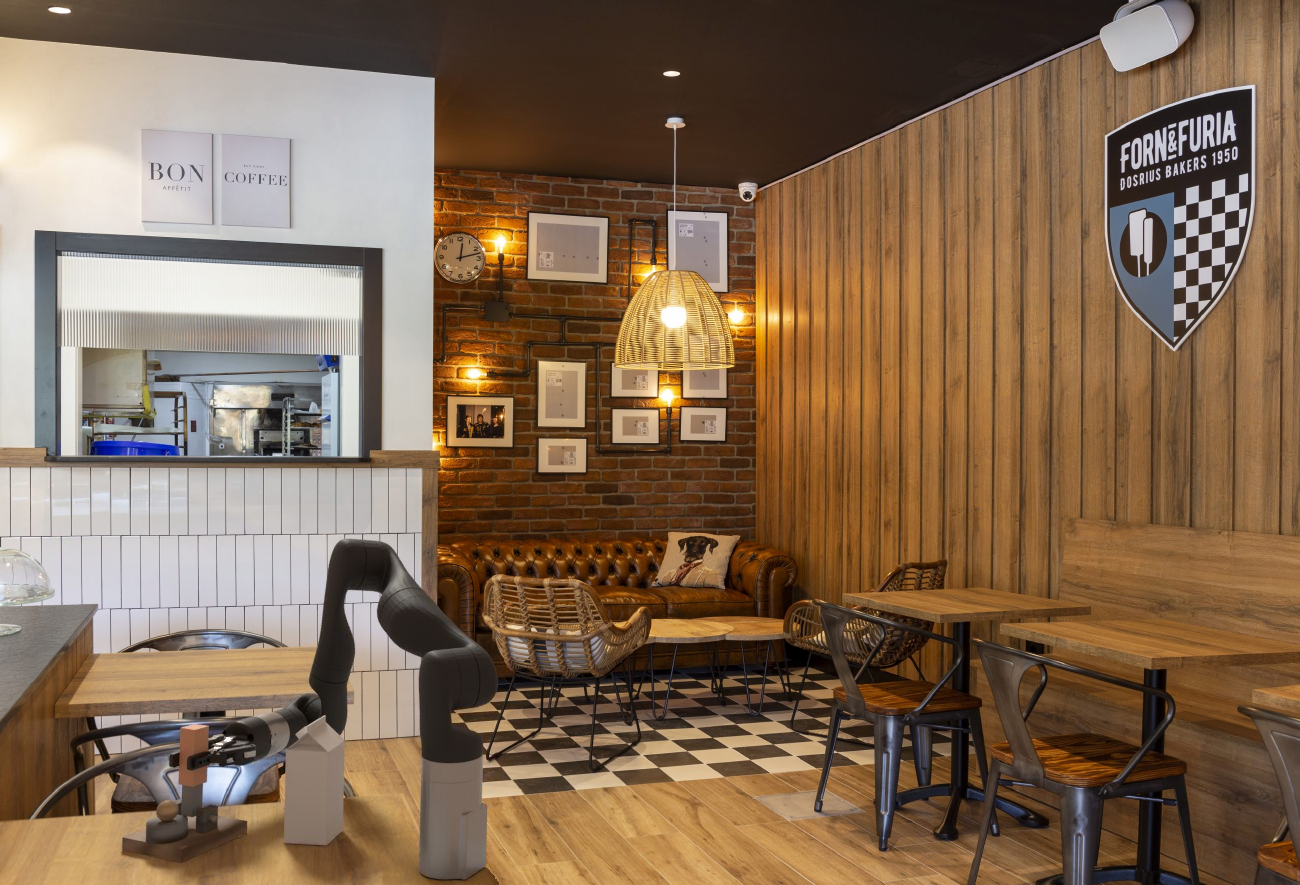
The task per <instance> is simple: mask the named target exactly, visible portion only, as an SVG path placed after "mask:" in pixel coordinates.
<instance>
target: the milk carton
mask: <svg viewBox="0 0 1300 885" xmlns="http://www.w3.org/2000/svg"><path fill="white" fill-rule="evenodd" d="M296 736H297V737H298V739H299V740H298V741H296V742H295V743H294V744H293V745H291V746H290V747H289V748H288V749H285V770H284V771H285V775H284V776H285V777H284V778H285V779H284V781H285V782H284V814H283V815H284V816H283V817H284V818H283V819H284V820H283V822H284V823H283V824H284V825H283V844H297V845H310V846H311V845H312V846H314V845H315V846H328V845H329V844H330V843H331V842H332V841H333V840H334V839H335V838H337V837H338V836H339V835H340V834H341V833H342V832H343V831H344V796H345V795H344V793H345V788H344V787H345V757H346V755H345V752H346V751H345V749H346V740H345V738H343V737H342V735H339V734H338V733H337V732H336V731H334V730H333V729H332V728H331V727H330V726H329V725H328V724H327V723H326V715H324V716H323V717H321V718H319V719H318V720H316V721H314V722H313V723H311V724H309V725H308V726H306V727H304V728H303V729H301V730H300V731H299V732H297V733H296Z"/></svg>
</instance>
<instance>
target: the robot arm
mask: <svg viewBox="0 0 1300 885" xmlns="http://www.w3.org/2000/svg"><path fill="white" fill-rule="evenodd" d="M348 591H362V592H365V591H366V592H375V593H379V594H381V596H380V598H379V600H378V603H377V608H376V617H377V621H378V624H379V625H380V627H381V629H382V630H383V631H384V632H385V633H386V635H387V636H388V638H389V639H390V640H391V641H392V642H393V644H394V645H396V646H397V647H398V648H399V649H401V650H403V651H405V652H407V653H409V654H411V655H413V656H417V657H418V658H421V661H420V665H419V670H418V704H419V705H418V706H419V735H420V736H419V737H420V744H421V756H420V757H421V759H420V760H421V761H420V763H421V765H420V797H419V798H420V803H419V804H420V806H419V843H418V844H419V847H418V848H419V850H418V851H419V853H418V871H419V873H420V874H421V875H422V876H425V877H428V878H430V879H436V880H459V879H460V880H467V879H469V878H470V877H472V876H473V875H475V874H476V873H477V872H479V871H481V870H482V869H484V868H485V867H486V866H487V847H488V846H487V844H488V843H487V842H488V841H487V840H488V833H487V832H488V804H487V803H485V802H483V776H484V775H483V772H484V769H483V768H484V766H483V765H484V738H483V736H482V735H481V734H480V733H479V732H478V731H475V730H472V729H469V728H464V727H459V726H456V725H455V724H453V721H452V711H461V710H462V711H463V710H469V709H475V708H479V707H482V706H485V705H487V704H489V703H490V702H491V701H492V700H494V697H496V694H497V691H498V688H499V678H498V673H497V668H496V665H495V663H494V661H493V659H492V657H491V656H490V654H489V653H488V652H487V651H486V650H485V648H483V647H482V646H481V645H480V644H479V643H478V642H476V641H475V640H474V639H473V638H471V637H470V636H469V635H467V634H466V633H465V632H464V631H463V630H461V629H460V628H459V627H458V626H457V625H456V624H455V623H454V622H453V621H452V620H451V619H450V618H449V617H448V616H447V615H446V614H445V613H444V612H443V611H442V609H441V608H440V607H439V606H438V604H437V603H436V602H435V601H434V599H433V598H432V597H431V596H429V594H428V593H427V592H426V591H425V590H424V589H422V587H421V586H420V584H418V583H417V581H416V580H415V579H414V577H413V576H412V575H411V574H410V573H409V571H408V570H407V569H406V567H405V565H404V563H403V562H402V560H401V559H400V557H399V556H398V554H397V552H396V550H395V549H394V548H393V547H392V546H391V545H390V544H389V543H386V542H384V541H379V540H371V539H358V538H343V539H340V540H339V541H338V542H336V543H335V545H334V546H333V549H332V551H331V555H330V558H329V562H328V568H327V575H326V582H325V589H324V597H323V606H322V614H321V624H320V631H319V638H318V642H317V646H316V651H315V655H314V658H313V662H312V665H311V668H310V672H309V677H308V684H309V685H308V686H310V688H311V689H312V690H313V691H314V692H315V693H309V692H308V693H307V692H306V693H301V694H300V695H299V696H297V697H296V698H295V699H294V700H292V701H291V702H290V703H288V704H287V705H286V706H284V707H283V708H281V709H278V710H273V711H271V712H266V713H265V712H263V713H258V714H256V715H252V716H249V717H245V718H242V719H238V720H235V721H233V722H230V723H228V724H227V726H225V728H224V730H223V731H222V732H221V734H220V733H219V734H215V735H212V736H211V737H209V739H208V752H206V751H204V752H201V753H198V754H194V755H191V756H189V757H188V758H187V770H191V771H193V770H196V769H198V768H201V767H204V766H207V767H214V766H217V765H218V766H219V767H222V768H224V767H228V766H233V765H234V766H237V767H241V766H243V767H244V766H246V765H249V764H253V763H255V762H258V761H261V760H263V759H266V758H270V757H271V756H274V755H275V754H277V753H279V752H282V751H284V750H285V751H286V750H287V749H288V748H289V747H290V746H291V745H293V744H294V743H295V742H296V741H298V740H299V739H298V737H297V736H296V733H297V732H299V731H300V730H301V729H303V728H304V727H306V726H308V725H309V724H311V723H313V722H314V721H316V720H318V719H319V718H321V717H323V716H324V715H326V723H327V724H328V725H329V726H330V727H331V728H332V729H333V730H334V731H336V732H337V733H338V734H339V735H340V736H342V733H343V732H344V730H345V728H346V725H347V722H348V721H347V720H348V710H349V709H348V684H349V680H350V679H349V678H350V675H351V671H352V668H353V664H354V661H355V656H356V643H355V638H354V635H353V632H352V630H351V627H350V624H349V622H348V619H347V616H346V611H345V600H346V596H347V593H348ZM168 758H169V759H168V767H170V768H171V769H172V768H173V769H174V768H179V758H180V750H179V751H175V752H172V753H170V754H169V756H168Z"/></svg>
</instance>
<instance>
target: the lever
mask: <svg viewBox="0 0 1300 885" xmlns="http://www.w3.org/2000/svg"><path fill="white" fill-rule="evenodd" d="M209 731H210V726H209V725H204V724H196V723H192V724H189V725H186V726H182V727H180V730H179V751H180V758H179V766H178V781H177V782H178V785H180V786H181V799H182V801H181V815H183V816H188V817H195V816H196V810H198V809H200V808H203V793H204V784H205V783H208V766H204V767H201V768H198V769H196V770H193V771H191V770H187V758H188V757H189V756H191V755H194V754H198V753H201V752H204V751H206V752H208V739H209V738H210V737H209V735H210V733H209Z"/></svg>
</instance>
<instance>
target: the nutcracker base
mask: <svg viewBox="0 0 1300 885" xmlns="http://www.w3.org/2000/svg"><path fill="white" fill-rule="evenodd" d="M181 801H182V798H179V799H175V800H172V799H166V800H164V801H162V802H160V803H159V804H158V805H157V807H156V810H155V812H156V813H155V814H156V816H155V817H152V818H150V819H148V820H147V821H145V822H146V823H145V828H143V829H140V830H137V831H135V832H132V833H130V834H128V835H125V836H122V840H121V841H122V843H121V851H123V852H124V851H125V852H128V853H129V852H130V853H133V854H138V855H143V856H148V857H153V858H157V859H162V860H167V861H170V862H171V861H172V862H177V863H183V862H185V861H189V860H190V859H193V858H194V857H197V856H199V855H202V854H204V853H206V852H208V851H210V850H212V849H215V848H217V847H219V846H221V844H222V845H223V843H224V844H226V843H228V842H231V841H233V840H235V839H237V838H240V837H241V835H242V836H244V835H246V834H248V820H245V819H244V820H243V819H239V818H238V819H237V818H233V817H229V816H228V817H227V816H222V815H219V806H218V805H215V804H208V805H206V806H202V808H200V809H198V810H196V816H195V817H188V816H183V815H181ZM239 836H240V837H239ZM230 840H231V841H230ZM225 842H226V843H225ZM218 845H219V846H218Z"/></svg>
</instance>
